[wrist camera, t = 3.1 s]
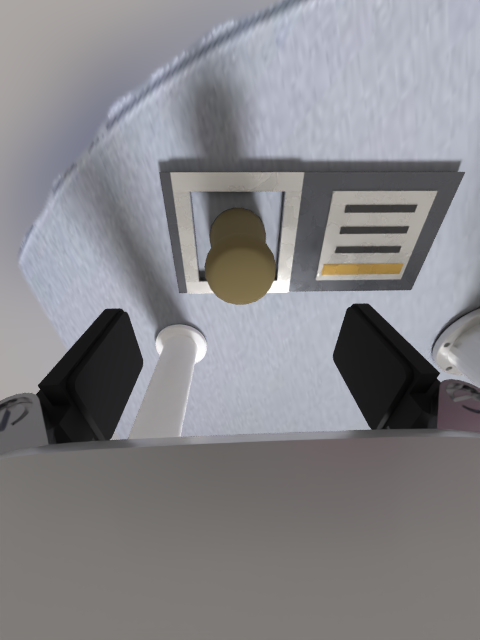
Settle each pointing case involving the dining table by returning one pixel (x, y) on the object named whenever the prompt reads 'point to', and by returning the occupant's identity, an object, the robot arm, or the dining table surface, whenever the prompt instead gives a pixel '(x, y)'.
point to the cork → (239, 258)
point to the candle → (169, 383)
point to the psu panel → (325, 225)
